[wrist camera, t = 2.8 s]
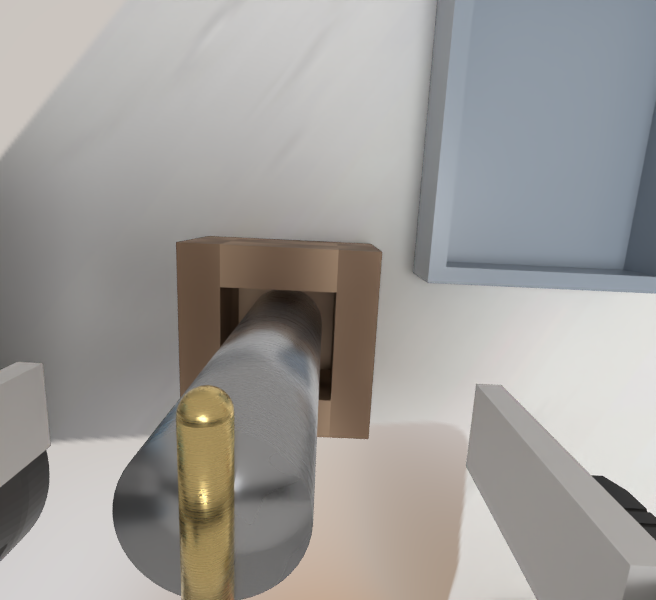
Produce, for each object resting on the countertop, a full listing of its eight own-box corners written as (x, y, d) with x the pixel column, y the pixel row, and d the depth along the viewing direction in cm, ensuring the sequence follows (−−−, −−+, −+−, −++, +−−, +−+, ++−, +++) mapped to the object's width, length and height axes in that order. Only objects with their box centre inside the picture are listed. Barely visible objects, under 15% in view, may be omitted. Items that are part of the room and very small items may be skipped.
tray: (413, 272, 23) (427, 282, 20) (442, -55, 20) (465, -109, 17) (624, 282, 24) (675, 294, 20) (687, -42, 20) (760, -93, 17)
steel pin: (248, 372, 24) (98, 684, 8) (250, 267, 22) (74, 394, 7) (319, 375, 24) (305, 690, 8) (324, 271, 22) (318, 405, 7)
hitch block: (210, 388, 25) (181, 431, 20) (208, 236, 23) (176, 242, 18) (360, 394, 25) (368, 439, 20) (370, 243, 23) (382, 251, 18)
